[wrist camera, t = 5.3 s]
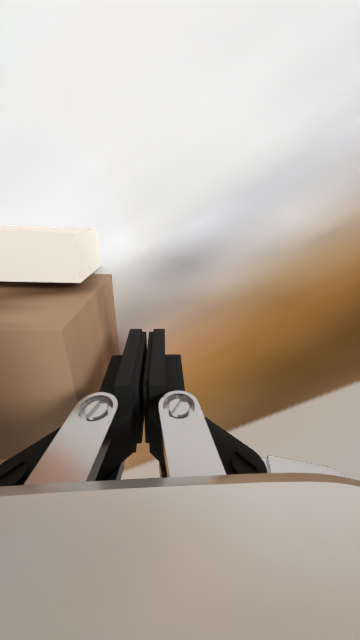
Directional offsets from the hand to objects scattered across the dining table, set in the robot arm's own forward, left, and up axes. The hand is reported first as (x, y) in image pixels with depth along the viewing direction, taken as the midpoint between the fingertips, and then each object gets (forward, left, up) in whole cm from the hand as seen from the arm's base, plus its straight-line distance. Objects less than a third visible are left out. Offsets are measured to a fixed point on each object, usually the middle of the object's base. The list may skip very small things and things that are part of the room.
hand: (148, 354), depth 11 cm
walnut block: (+6, 0, -4) cm, 7 cm away
